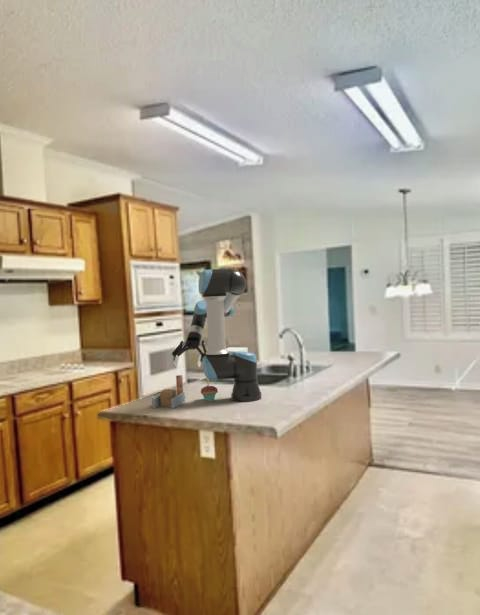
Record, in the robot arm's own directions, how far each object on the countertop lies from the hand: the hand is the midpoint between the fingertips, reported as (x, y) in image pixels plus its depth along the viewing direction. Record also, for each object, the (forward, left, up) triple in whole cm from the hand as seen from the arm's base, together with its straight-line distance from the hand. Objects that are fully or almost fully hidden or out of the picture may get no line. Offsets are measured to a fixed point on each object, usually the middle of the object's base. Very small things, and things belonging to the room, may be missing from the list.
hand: (186, 366), depth 261 cm
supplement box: (+11, -45, -15) cm, 48 cm away
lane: (-13, +22, -15) cm, 29 cm away
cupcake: (-21, +3, -15) cm, 26 cm away
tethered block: (-9, +16, -15) cm, 23 cm away
